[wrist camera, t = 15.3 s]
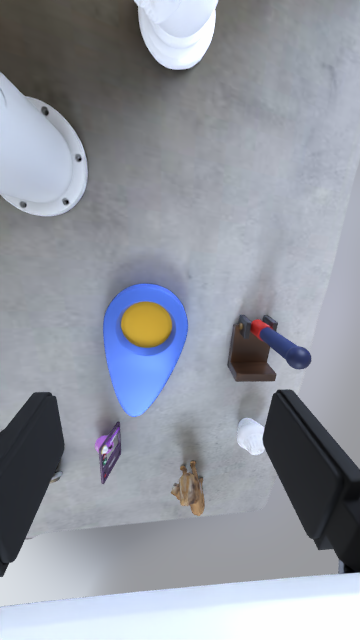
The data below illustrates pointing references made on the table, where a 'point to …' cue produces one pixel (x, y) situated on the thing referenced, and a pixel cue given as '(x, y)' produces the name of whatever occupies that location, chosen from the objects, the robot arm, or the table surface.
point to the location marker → (143, 343)
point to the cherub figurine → (177, 30)
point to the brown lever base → (250, 353)
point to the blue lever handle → (281, 345)
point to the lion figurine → (190, 490)
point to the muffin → (250, 436)
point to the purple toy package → (104, 447)
